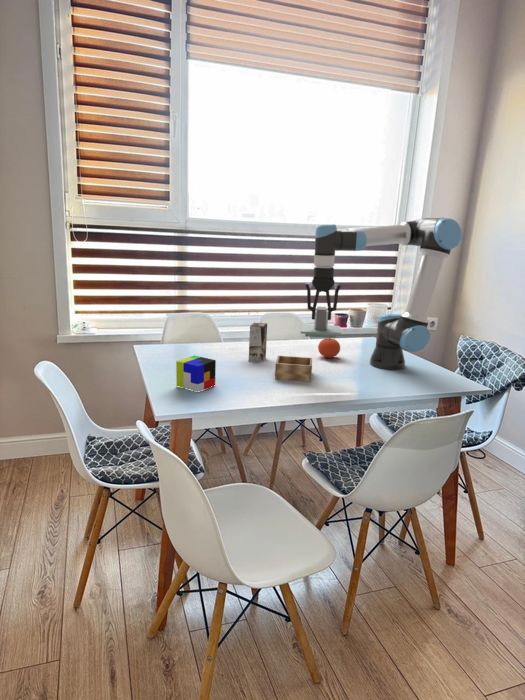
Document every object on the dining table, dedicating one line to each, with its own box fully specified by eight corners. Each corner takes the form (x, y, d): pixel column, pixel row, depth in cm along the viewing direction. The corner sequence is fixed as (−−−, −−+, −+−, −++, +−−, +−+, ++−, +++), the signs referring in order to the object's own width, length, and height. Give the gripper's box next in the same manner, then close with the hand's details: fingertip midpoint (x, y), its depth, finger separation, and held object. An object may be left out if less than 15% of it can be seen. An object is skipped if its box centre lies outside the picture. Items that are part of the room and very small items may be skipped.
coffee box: (262, 363, 205) (263, 327, 201) (248, 361, 206) (249, 325, 202) (266, 357, 214) (267, 323, 210) (252, 356, 215) (253, 322, 211)
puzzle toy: (197, 393, 165) (198, 366, 163) (176, 387, 170) (176, 361, 168) (215, 386, 174) (215, 360, 171) (194, 380, 179) (194, 355, 176)
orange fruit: (339, 355, 223) (341, 335, 220) (339, 361, 213) (341, 340, 210) (318, 353, 224) (319, 333, 222) (316, 359, 215) (318, 338, 212)
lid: (339, 331, 187) (340, 306, 185) (340, 339, 175) (342, 312, 172) (301, 329, 189) (302, 304, 186) (300, 337, 177) (301, 310, 174)
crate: (310, 374, 192) (312, 357, 191) (310, 383, 181) (312, 366, 179) (277, 371, 194) (277, 355, 192) (274, 380, 182) (275, 363, 180)
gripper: (345, 266, 178) (342, 326, 184) (302, 265, 180) (299, 325, 186) (347, 268, 171) (342, 331, 177) (301, 267, 173) (298, 329, 179)
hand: (320, 327), depth 181 cm, fingers closed on lid, 3 cm apart
